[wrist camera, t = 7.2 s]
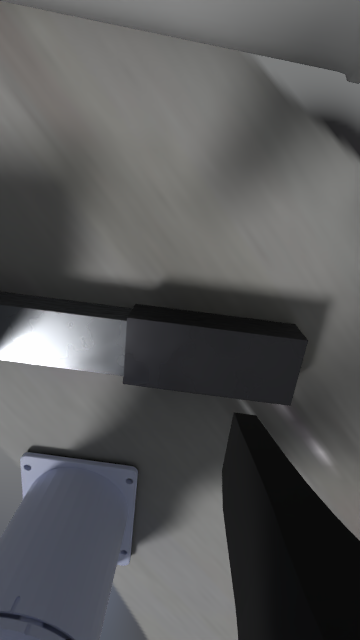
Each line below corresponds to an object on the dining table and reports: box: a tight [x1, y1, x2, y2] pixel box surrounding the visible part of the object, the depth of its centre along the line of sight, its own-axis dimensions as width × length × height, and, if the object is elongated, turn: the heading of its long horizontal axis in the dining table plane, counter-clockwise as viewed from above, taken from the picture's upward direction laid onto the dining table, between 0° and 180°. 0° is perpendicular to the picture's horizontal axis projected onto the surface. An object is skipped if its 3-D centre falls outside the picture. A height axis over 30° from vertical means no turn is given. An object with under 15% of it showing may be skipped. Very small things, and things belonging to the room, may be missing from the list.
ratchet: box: [0, 292, 308, 406], centre depth 17 cm, size 6×23×5 cm, turn 83°
